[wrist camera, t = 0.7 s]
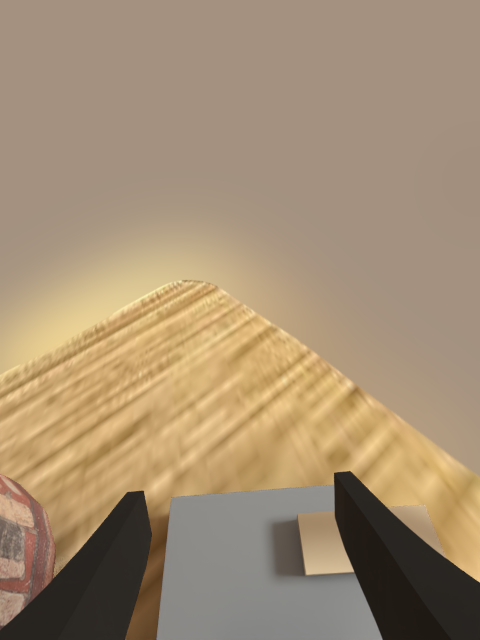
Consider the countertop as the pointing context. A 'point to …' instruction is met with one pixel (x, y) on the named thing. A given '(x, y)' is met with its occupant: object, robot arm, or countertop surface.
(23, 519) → the pottery
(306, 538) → the thin wooden plank
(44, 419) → the countertop surface
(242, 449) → the countertop surface
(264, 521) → the lid
